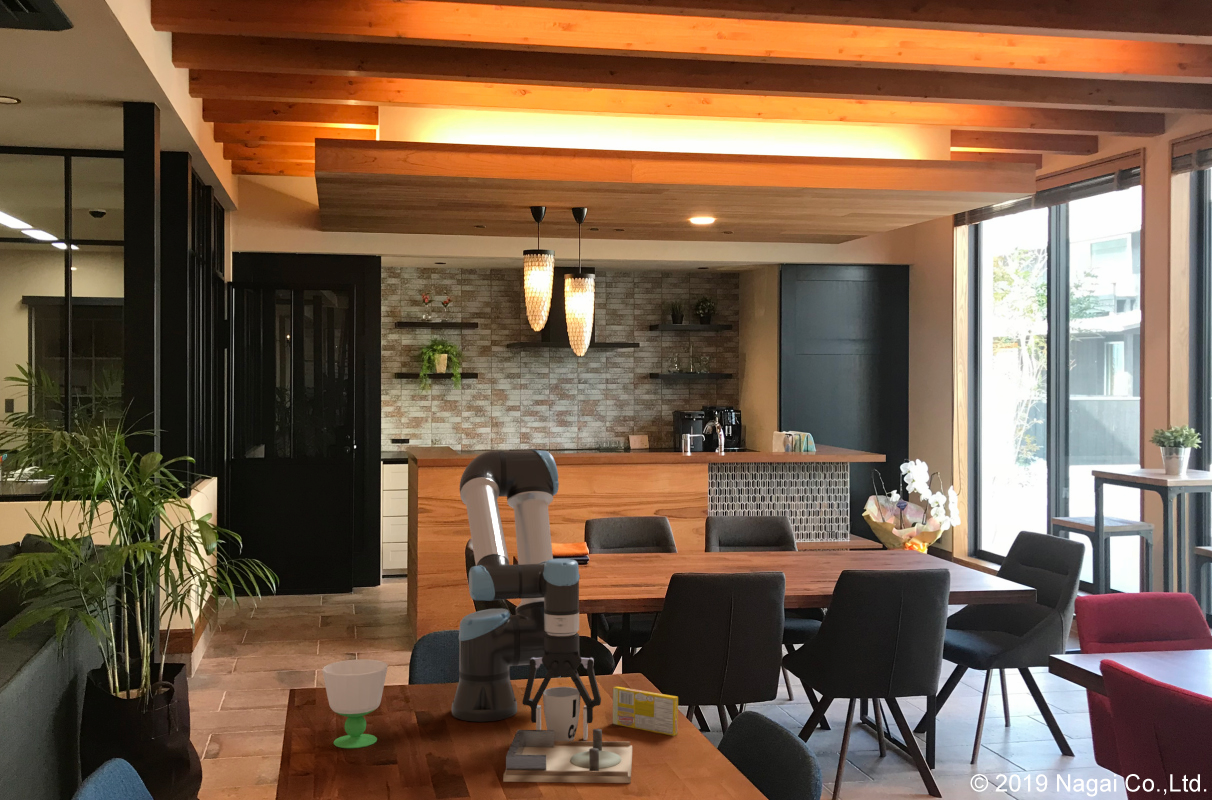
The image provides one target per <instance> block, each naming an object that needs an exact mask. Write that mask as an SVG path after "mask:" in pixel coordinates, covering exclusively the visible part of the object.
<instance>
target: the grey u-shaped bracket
mask: <svg viewBox="0 0 1212 800" xmlns="http://www.w3.org/2000/svg"><path fill="white" fill-rule="evenodd" d="M524 747H554V730H547V729H541V730H536V729H517V730H516V732H515V735H514V737H513V739H512V741H511V744H510V746H509V749H508V751H507V753H506V755H505V770H547V755H522V753H523V750H524Z"/></svg>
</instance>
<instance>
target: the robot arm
mask: <svg viewBox="0 0 1212 800" xmlns="http://www.w3.org/2000/svg"><path fill="white" fill-rule="evenodd" d="M559 485H560V483H559V472H558V468H557V463H556V461H555V458H554V456H553V455H552V454H551V452H549V451H548V450H541V449H540V450H538V449H537V450H536V449H529V450H527V449H525V450H521V449H519V450H514V449H513V450H489V451H485V452H483V453H480V454H479V455H477V456H476V457H475V458H473V459H472V460H471V461H470V462H469V464H467V466H465V469H464V471H463V473H462V475H461V477H460V481H459V494H460V499H461V501H462V503H463V504H464V505H465V507H466V514H467V518H468V526H469V532H470V537H471V538H470V539H471V545H472V550H473V557H474V562H475V565H474V566H471V567H470V569H469V572H468V591H469V596H470V598H471V599H472V600H473V601H490V602H491V601H501V600H515V599H516V600H518V599H520V603H519V604H518V605H517V606H516V607H515V614H511V613H510V611H509V610H508V609H506V608H502V607H500V608H488V609H482V610H478V611H474V612H471V613H468V614H467V615H465V616H464V617H463V618H462V619H461V620H460V622H459V633H458V634H459V635H458V641H459V657H458V658H459V664H458V665H459V669H458V670H459V675H458V676H459V681H458V683H457V687H456V691H455V695H454V699H453V701H452V703H451V715H452V716H453V717H454V718H455V719H458V720H460V721H461V720H462V721H467V722H483V723H484V722H493V721H494V722H496V721H500V720H505V719H508V718H510V717H511V718H512V717H513V716H515V715H516V714H517V713H518V701H517V698H516V695H515V692H514V691H515V690H514V689H513V685H512V682H511V677H510V667H513V666H514V667H516V666H528V665H529V674H528V677H527V682H526V685H525V686H526V687H525V691H524V695H523V699H522V705H523V706H527V707H529V708H530V722H531V723H532V724H535V730H542V705H539V703H540V700H541V698H542V697H543V693H544V691H545V690H546V689H547V686H548V685H549V683H550V681H551V679H552V677H554V678H560V677H563V678H571V681H572V682H573V684H574V685H575V688H576V689H578V691H579V693H580V695H581V696H580V698H581V699H582V701H583V702H584V704H585V705H583V710H582V712H583V713H582V719H583V721H582V724H583V725H582V728H583V735H582V736H583V740H582V741H588V738H589V737H588V730H589V728H588V725H589V724H592V723H593V720H594V710H593V709H594V707H595V708H596V706H597V707H598V706H600V705H601V704H602V703H601V702H602V698H601V692H600V690H599V685H598V682H597V678H596V675H595V669H594V663H595V658H594V657H593V656H589V657H582V656H581V654H580V634H579V632H578V631H580V577H581V575H580V572H579V563H578V561H577V560H575V559H572V558H571V559H570V558H554V556H553V546H552V534H551V526H550V525H551V524H550V514H549V506H550V504H552V502H553V501H554V496H556V495H557V494H558V491H559ZM499 497H506V500H507V501H506V502H507V503H506V504H507V505H508V506H509V507H510V508H512V509H513V514H514V526H515V537H516V538H515V539H516V540H515V541H516V551H517V564H510V557H509V553H508V548H507V545H506V539H505V534H504V528H503V525H502V518H501V514H500V509H499V502H498V498H499ZM581 664H582V665H583V668H584V669H585V670H586V673H587V677H588V680H589V681H588V682H589V686H590V688H591V692H592V693H591V694H592V697H593V699H592V698H591V696H590V694H589V692H588V691H587V688H586V686H585V685H584V682H583V680H582V679H581V677H580V675H579V673H578V670H577V669H578V668H579V666H580V665H581ZM541 665H543V666H544V667H545V668H546V670H547V672H546V674H545V677H544V679H543V680H542V682H541V684H540V686H539V687H538V689H537V691H536V693H535V695H534V697H533V698H531V694H532V690H533V686H534V682H535V678H536V673H537V670H538V669H539V668H540V666H541Z"/></svg>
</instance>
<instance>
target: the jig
mask: <svg viewBox="0 0 1212 800" xmlns="http://www.w3.org/2000/svg"><path fill="white" fill-rule="evenodd" d="M630 744H631V741H622V740H621V741H614V740H613V741H608V740H607V741H605V740H603V729H601V728H594V729H592V740H572V741H554V747H524V750H523V753H522V755H547V770H506V769H505V771H504V772H503V776H502V777H503V779H502V780H503V781H502V782H503V783H504V782H505V783H506V782H507V783H508V782H514V783H515V782H517V783H518V782H519V783H520V782H521V783H523V782H524V783H525V782H526V783H594V784H596V783H599V784H602V783H603V784H604V783H605V784H609V783H610V784H611V783H612V784H631V783H632V781H631V780H632V762H633V761H632V760H633V745H630Z"/></svg>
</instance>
